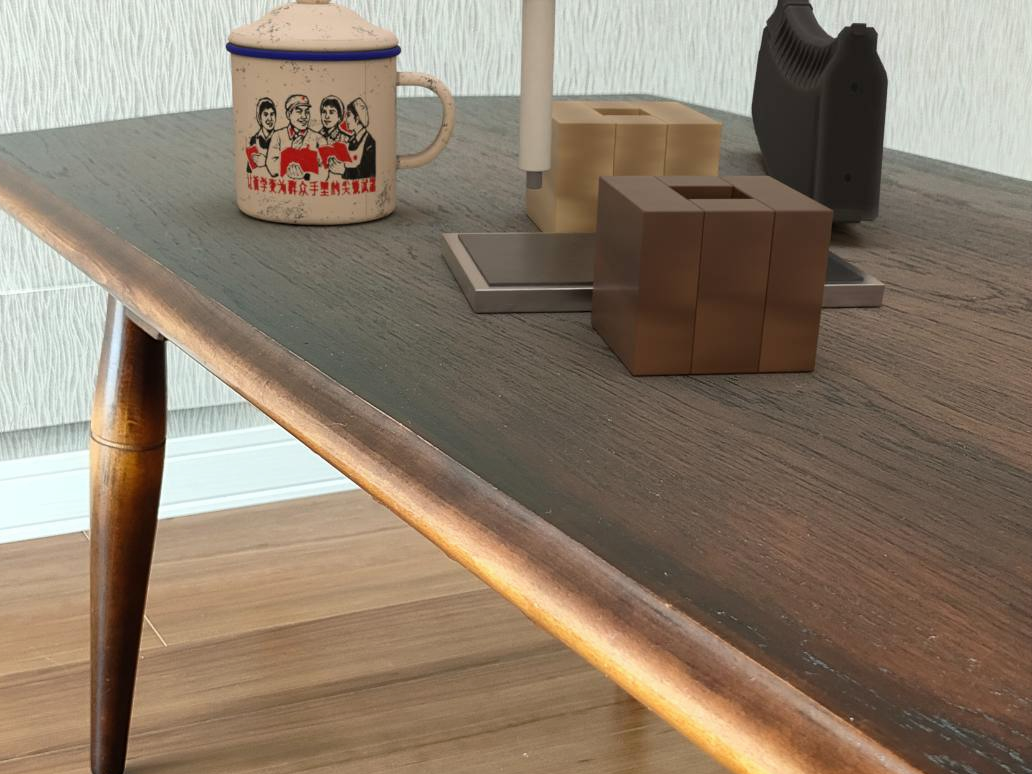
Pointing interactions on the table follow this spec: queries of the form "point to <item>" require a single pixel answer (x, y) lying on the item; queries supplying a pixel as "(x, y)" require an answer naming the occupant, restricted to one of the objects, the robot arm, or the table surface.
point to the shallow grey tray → (580, 273)
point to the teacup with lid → (321, 115)
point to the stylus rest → (709, 274)
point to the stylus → (536, 89)
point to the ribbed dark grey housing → (821, 110)
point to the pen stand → (616, 154)
